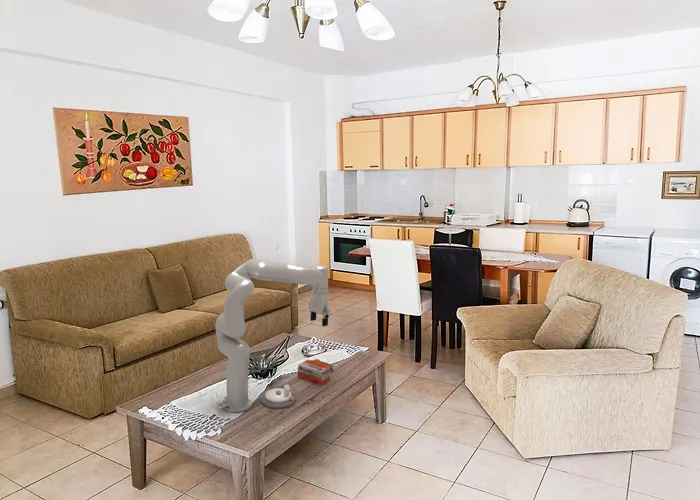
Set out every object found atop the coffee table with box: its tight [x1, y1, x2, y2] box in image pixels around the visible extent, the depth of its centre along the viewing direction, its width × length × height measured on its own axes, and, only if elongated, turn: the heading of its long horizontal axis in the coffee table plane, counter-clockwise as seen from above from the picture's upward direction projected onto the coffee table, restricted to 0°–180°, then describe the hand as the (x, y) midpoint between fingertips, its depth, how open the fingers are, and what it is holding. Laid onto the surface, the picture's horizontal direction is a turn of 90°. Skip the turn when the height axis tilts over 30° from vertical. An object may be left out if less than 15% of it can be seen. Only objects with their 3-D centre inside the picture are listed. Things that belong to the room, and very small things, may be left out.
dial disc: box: [265, 384, 294, 403], centre depth 240 cm, size 14×12×6 cm
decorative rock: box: [311, 358, 334, 371], centre depth 278 cm, size 11×4×15 cm
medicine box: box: [297, 359, 331, 387], centre depth 264 cm, size 15×8×8 cm, turn 58°
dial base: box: [260, 386, 297, 410], centre depth 241 cm, size 16×16×4 cm
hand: (319, 323), depth 257 cm, fingers open, 9 cm apart
